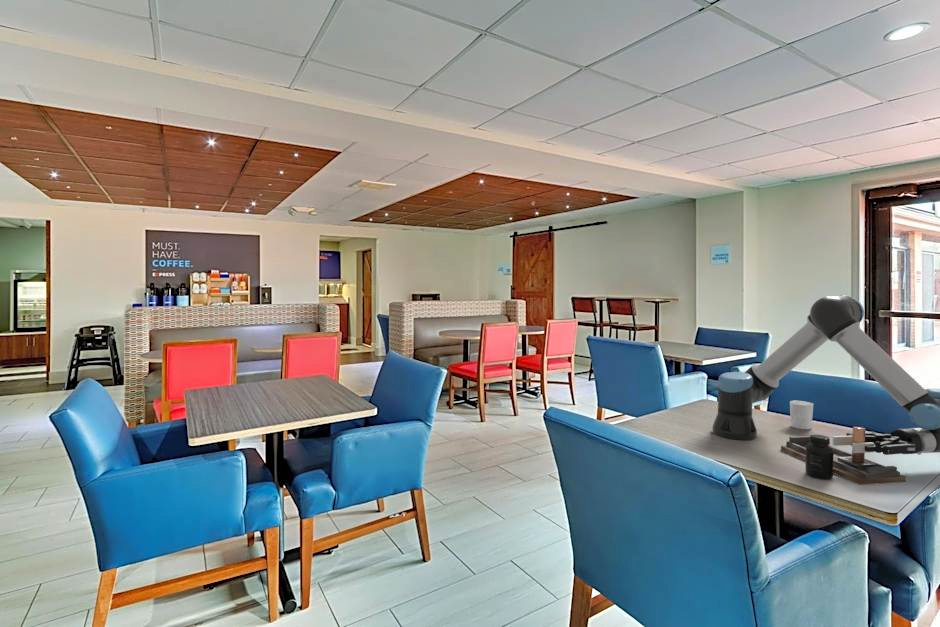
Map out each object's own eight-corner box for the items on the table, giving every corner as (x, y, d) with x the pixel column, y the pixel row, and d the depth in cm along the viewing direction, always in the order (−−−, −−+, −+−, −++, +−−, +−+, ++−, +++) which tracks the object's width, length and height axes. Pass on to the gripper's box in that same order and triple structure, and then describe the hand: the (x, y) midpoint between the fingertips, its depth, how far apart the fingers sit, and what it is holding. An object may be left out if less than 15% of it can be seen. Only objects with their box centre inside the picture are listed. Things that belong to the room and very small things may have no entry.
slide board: (905, 481, 140) (906, 466, 140) (859, 484, 139) (859, 469, 139) (820, 447, 170) (820, 435, 170) (781, 450, 169) (781, 437, 168)
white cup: (817, 430, 191) (818, 405, 191) (797, 430, 192) (798, 405, 191) (804, 424, 199) (804, 400, 199) (784, 424, 199) (785, 400, 199)
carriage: (879, 470, 144) (880, 431, 144) (857, 471, 144) (859, 432, 143) (857, 462, 151) (859, 424, 151) (837, 463, 150) (838, 425, 150)
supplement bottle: (839, 479, 142) (840, 439, 142) (817, 480, 142) (818, 440, 141) (820, 470, 149) (821, 432, 149) (799, 471, 149) (800, 433, 148)
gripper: (944, 464, 140) (872, 468, 137) (881, 443, 159) (817, 446, 156) (945, 438, 139) (873, 442, 137) (882, 420, 158) (817, 423, 156)
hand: (843, 444), depth 146 cm, fingers open, 6 cm apart
